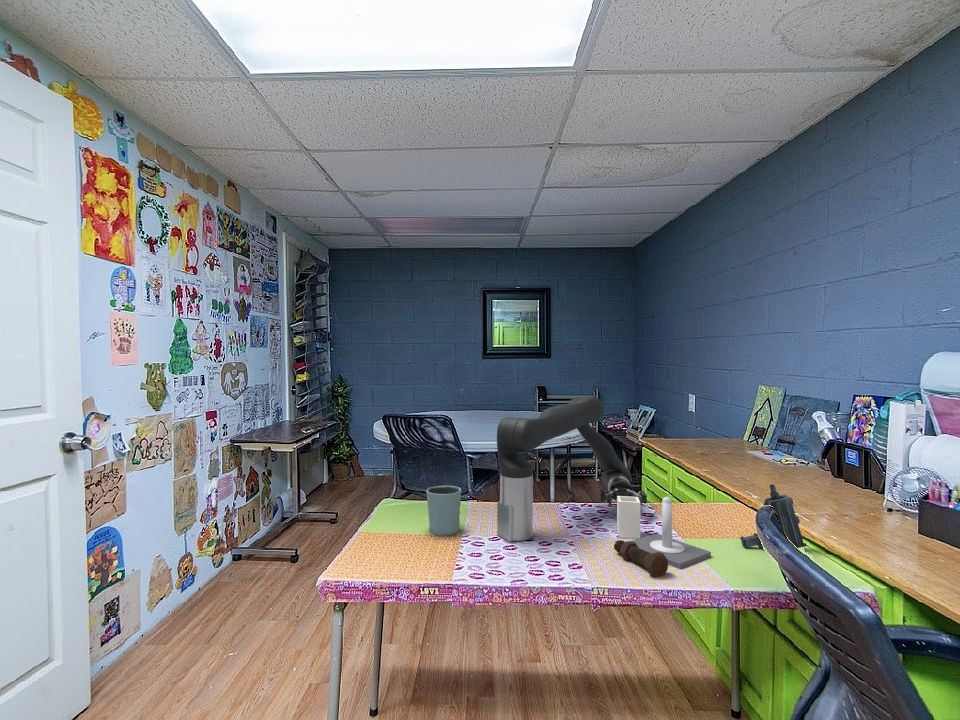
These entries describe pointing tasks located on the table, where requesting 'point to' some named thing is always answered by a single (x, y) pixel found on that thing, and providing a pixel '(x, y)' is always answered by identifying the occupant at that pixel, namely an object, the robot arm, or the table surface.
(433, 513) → the drinking glass
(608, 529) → the table surface
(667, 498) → the post stand
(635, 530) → the collar
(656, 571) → the bolt
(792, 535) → the gun
